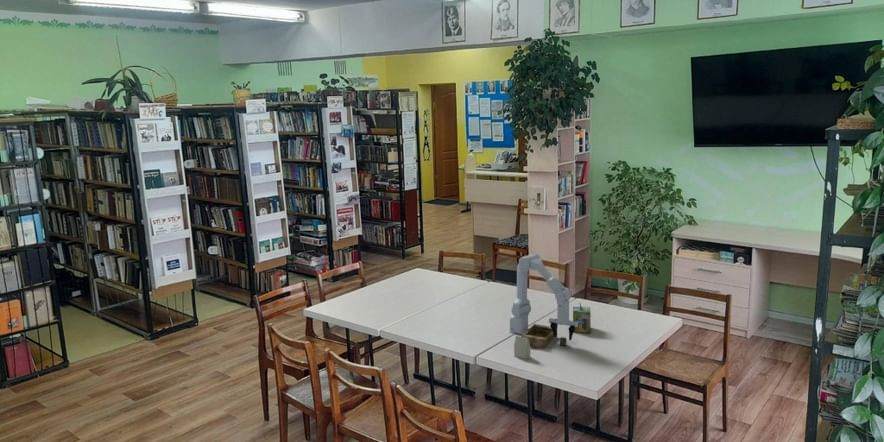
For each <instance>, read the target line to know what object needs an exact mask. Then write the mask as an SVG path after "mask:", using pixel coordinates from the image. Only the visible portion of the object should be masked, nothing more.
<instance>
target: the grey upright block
mask: <svg viewBox="0 0 884 442" xmlns="http://www.w3.org/2000/svg"><path fill="white" fill-rule="evenodd" d="M513 344H514V345H513V346H514V347H513V348H514V349H513V351H514V352H513V353H514V354H513V355H514V357H515V358H518V359H519V358H520V359H522V360H526V361H527V360H528V359H529V358H531V347H530V343H529V339H528V338H524V337H521V336H519V335H516V336H515V340H514V343H513Z"/></svg>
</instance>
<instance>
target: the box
mask: <svg viewBox="0 0 884 442" xmlns="http://www.w3.org/2000/svg"><path fill="white" fill-rule="evenodd" d="M520 335H521V336H520V337H524V338H528V339H529V343H530V348H531V347H532V348H536V349H543V350H544V349H545V348H546V347H547V346H549V344H550V343H551V342H552V341H553V340H554V339H556V338H555V337H554V333H553V330H552V328H551V327H550V325H549V326H548V325H543V324H536V323H534V324H533V325H532V326H530V327H528V330H527V331H526V332H525V333H524V334H520Z"/></svg>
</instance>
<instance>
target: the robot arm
mask: <svg viewBox="0 0 884 442" xmlns="http://www.w3.org/2000/svg"><path fill="white" fill-rule="evenodd" d="M529 270H531V271H532V270H533V271H537V272H538V273H539V274H540V275H541V277H542V278H544V280H545V281H546V285H547V286H548V288H549V289H550V290H551V291H552V292H553V294H554V298H555V300H556V305H557V313H556V314H557V315H556V316H557V318H551V317H550V318H548V324H550V325H549V327H551V328H552V330H553V333H554V337H555V338H554V339H556V338H557V337H558V325H560V326H569V327H568V340H569V341H572V339H573V335H574V333H575V332H574V330H575V328H576V327H578V323H577V322H573V320H570V300H571V298H572V291H571V290H570V289H569V288H568V287H565V286H564V285H563V284H562V283H561V281H560V280H559V278H557V277H555V276H552V274H551V273H550V271H549V270H548V269H547V268H546V266H545V264H544V263H543V260H542V258H541V257H540V256H539V254H537V253H531V254H528V255H526V256H522V257H520V258H519V259H518V264H517V266H516V298H515V299H514V301H513V302H512V307H511V316H510V318H509V331H508V332H509V333H513V334H517V335H518V334H519V335H523V334H524V333H525V332H526V331H527V330H528V329H529V316H530V315H529V314H530V312H531V311H532V306H531V301H530V300H529V299H528V273H529V272H528V271H529Z"/></svg>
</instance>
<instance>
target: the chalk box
mask: <svg viewBox="0 0 884 442" xmlns="http://www.w3.org/2000/svg"><path fill="white" fill-rule="evenodd" d="M591 317H592V316H591V307H590V306H589V307H587V306H582V304H581V302H579V306H572V321H573V322H577V323H578V327H576V328H575V330H574V332H573V333H588V334H589V333H590V334H591V331H592V330H591V329H592V328H591V325H592V324H591V323H592V322H591V320H592V319H591Z"/></svg>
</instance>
